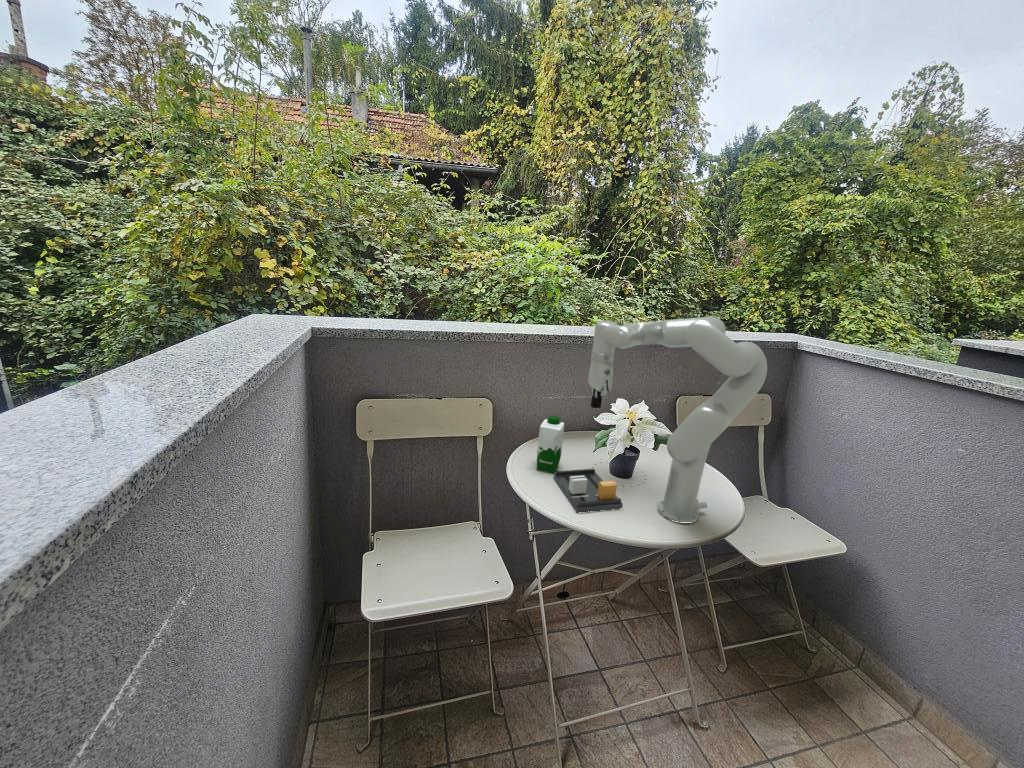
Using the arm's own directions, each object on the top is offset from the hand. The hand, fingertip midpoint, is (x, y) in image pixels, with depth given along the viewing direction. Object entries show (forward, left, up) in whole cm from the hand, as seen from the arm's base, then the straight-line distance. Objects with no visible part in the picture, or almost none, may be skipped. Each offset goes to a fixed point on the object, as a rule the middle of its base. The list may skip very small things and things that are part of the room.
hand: (595, 407), depth 157 cm
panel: (+6, +12, -27) cm, 30 cm away
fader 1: (+10, +14, -25) cm, 30 cm away
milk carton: (+13, -7, -27) cm, 31 cm away
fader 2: (+1, +19, -25) cm, 31 cm away
